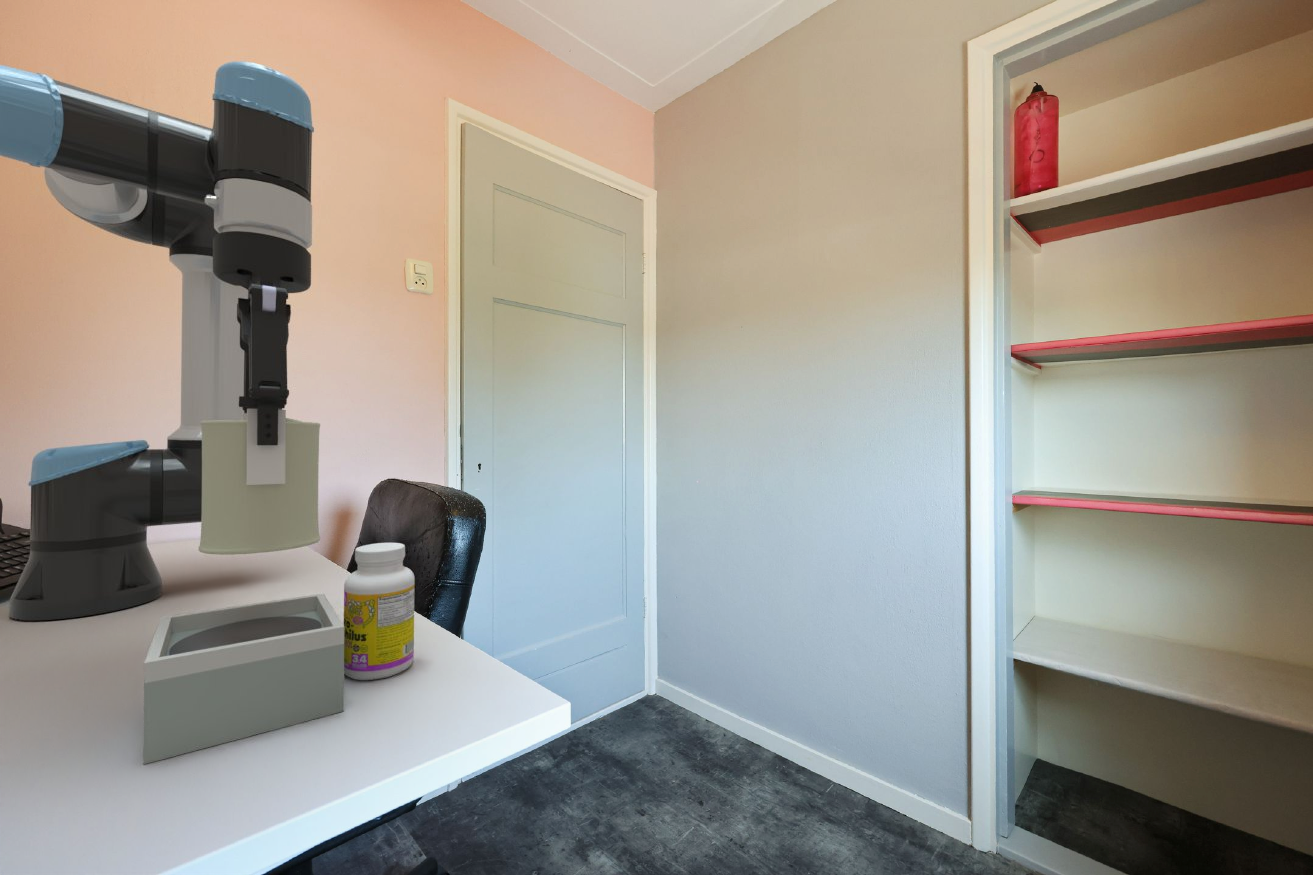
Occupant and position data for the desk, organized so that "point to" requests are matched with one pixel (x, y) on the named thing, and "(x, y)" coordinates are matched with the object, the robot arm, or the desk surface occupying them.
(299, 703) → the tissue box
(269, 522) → the can
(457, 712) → the desk surface
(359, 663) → the supplement bottle
